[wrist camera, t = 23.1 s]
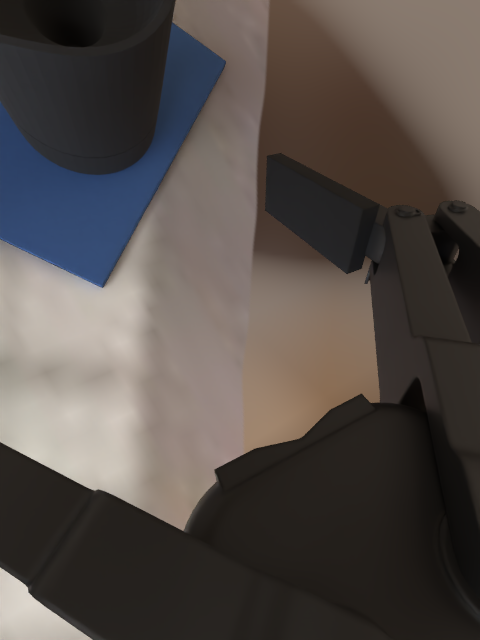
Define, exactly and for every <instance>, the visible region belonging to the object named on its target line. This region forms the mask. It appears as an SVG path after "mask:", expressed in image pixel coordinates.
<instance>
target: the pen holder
mask: <svg viewBox="0 0 480 640" xmlns="http://www.w3.org/2000/svg"><path fill="white" fill-rule="evenodd" d="M174 6H175V0H0V102H1V103H2V105H3V106H4V108H5V109H6V111H7V112H8V114H9V115H10V117H11V118H12V120H13V122H14V123H15V125H16V126H17V128H18V129H19V131H20V132H21V133H22V135H23V136H24V137H25V139H26V140H27V141H28V142H29V143H30V145H31V146H32V147H33V148H34V149H35V150H36V151H38V152H39V153H40V154H41V155H42V156H44V157H45V158H47V159H48V160H49V161H51V162H53V163H55V164H57V165H58V166H60V167H63V168H65V169H68V170H70V171H74V172H78V173H83V174H89V175H104V174H111V173H116V172H119V171H122V170H124V169H126V168H128V167H130V166H132V165H133V164H135V163H136V162H138V161H139V160H140V159H141V158H142V157H143V156H144V154H145V153H146V152H147V150H148V148H149V147H150V145H151V143H152V140H153V137H154V133H155V128H156V123H157V117H158V111H159V106H160V100H161V93H162V86H163V79H164V73H165V66H166V59H167V53H168V46H169V39H170V32H171V26H172V19H173V12H174Z"/></svg>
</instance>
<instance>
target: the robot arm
mask: <svg viewBox="0 0 480 640" xmlns="http://www.w3.org/2000/svg"><path fill="white" fill-rule="evenodd" d="M265 211H267V212H268V213H269V214H271V215H272V216H273V217H274V218H276V219H277V220H278V221H280V222H281V223H282V224H283V225H285V226H286V227H287V228H289V229H290V230H291V231H292V232H294V233H295V234H296V235H297V236H299V237H300V238H301V239H303V240H304V241H305V242H306V243H308V244H309V245H310V246H312V247H313V248H314V249H315V250H317V251H318V252H319V253H321V254H322V255H323V256H324V257H326V258H327V259H328V260H330V261H331V262H332V263H333V264H335V265H336V266H337V267H338V268H340V269H341V270H342V271H344V272H345V273H346V274H348V273H351V272H354V271H356V270H359V269H361V268H362V265H363V261H364V258H365V256H367V257H368V258H370V259H371V260H372V261H371V265H370V268H369V271H368V274H367V277H366V280H365V284H367V283H368V281H369V280H370V283H371V295H372V307H373V319H374V330H375V341H376V354H377V366H378V377H379V388H380V403H370V402H369V401H368V400H367V399H366V398H365V397H364V396H363V395H362V394H360V395H358V396H356V397H354V398H352V399H350V400H348V401H346V402H344V403H343V404H341V405H339V406H337V407H335V408H333V409H331V410H330V411H329V412H328V413H326V415H324V416H323V417H322V418H321V419H320V420H319V421H318V422H317V423H316V424H315V425H314V426H313V427H312V428H311V429H310V430H309V431H308V432H307V433H306V434H305V435H304V436H303V437H302V438H300V439H297V440H293V441H288V442H283V443H279V444H274V445H270V446H265V447H261V448H256V449H254V450H252V451H250V452H248V453H246V454H244V455H242V456H240V457H238V458H236V459H234V460H232V461H230V462H228V463H226V464H224V465H223V466H221V467H219V468H217V469H215V476H216V481H217V482H216V483H215V484H214V485H213V486H212V487H211V488H210V489H209V490H208V491H207V492H206V493H205V494H204V496H203V497H202V498H201V499H200V501H199V502H198V504H197V505H196V507H195V508H194V510H193V512H192V514H191V516H190V518H189V520H188V522H187V524H186V526H185V529H184V531H182V530H180V529H178V528H176V527H174V526H172V525H170V524H168V523H166V522H164V521H162V520H160V519H158V518H156V517H155V516H153V515H151V514H149V513H147V512H145V511H143V510H141V509H139V508H137V507H135V506H133V505H131V504H129V503H127V502H125V501H124V500H122V499H120V498H118V497H116V496H114V495H111V494H109V493H107V492H105V491H102V490H96V491H94V490H91V489H89V488H87V487H85V486H83V485H81V484H79V483H77V482H75V481H73V480H71V479H69V478H67V477H65V476H63V475H62V474H60V473H58V472H56V471H54V470H52V469H50V468H48V467H46V466H44V465H42V464H41V463H39V462H37V461H35V460H33V459H31V458H29V457H27V456H25V455H23V454H21V453H19V452H18V451H16V450H14V449H12V448H10V447H8V446H6V445H4V444H2V443H0V567H1V568H2V569H4V570H5V571H7V572H8V573H10V574H11V575H12V576H14V577H15V578H17V579H18V580H20V581H21V582H22V583H24V584H25V585H26V586H27V587H28V592H29V593H30V594H31V595H32V596H33V597H34V598H35V599H36V600H37V601H39V602H40V603H41V604H43V605H44V606H45V607H47V608H48V609H50V610H51V611H52V612H54V613H55V614H57V615H58V616H60V617H61V618H63V619H64V620H65V621H67V622H68V623H70V624H71V625H73V626H74V627H75V628H77V629H78V630H80V631H81V632H83V633H84V634H86V635H87V636H88V637H90V638H91V639H93V640H480V211H478V210H477V209H476V208H475V207H473V206H471V205H469V204H466V203H465V202H463V201H457V200H456V201H445V202H442V203H440V205H439V207H438V209H437V212H436V214H435V215H424V213H423V212H422V211H421V210H419V209H417V208H414V207H411V206H406V205H396V206H391V207H389V208H388V209H387V208H385V207H383V206H382V205H380V204H377V203H376V202H374V201H372V200H370V199H368V198H366V197H364V196H362V195H360V194H358V193H357V192H355V191H353V190H351V189H348V188H347V187H345V186H343V185H341V184H339V183H337V182H335V181H333V180H331V179H329V178H327V177H325V176H324V175H322V174H320V173H318V172H316V171H314V170H312V169H310V168H308V167H306V166H304V165H302V164H301V163H299V162H297V161H295V160H293V159H291V158H289V157H287V156H285V155H283V154H281V153H279V154H274V155H269V156H267V176H266V203H265ZM458 249H459V255H458V258H457V260H456V261H455V260H454V257H455V255H456V253H457V251H458Z"/></svg>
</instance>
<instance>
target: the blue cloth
mask: <svg viewBox="0 0 480 640" xmlns="http://www.w3.org/2000/svg"><path fill="white" fill-rule="evenodd" d="M225 64H226V61H225V60H223V59H222V58H221V57H219V56H218V55H216V54H215V53H214V52H212V51H211V50H210V49H208V48H207V47H205V46H204V45H203V44H201V43H200V42H199V41H197V40H196V39H194V38H193V37H192V36H190V35H189V34H188V33H186V32H185V31H183V30H182V29H181V28H179V27H178V26H176V25H175V24H174V23H172V26H171V32H170V39H169V46H168V53H167V59H166V66H165V73H164V79H163V86H162V93H161V100H160V106H159V111H158V117H157V123H156V128H155V133H154V137H153V140H152V143H151V145H150V147H149V148H148V150H147V152H146V153H145V154H144V156H143V157H142V158H141V159H140V160H139V161H138V162H136V163H135V164H133V165H132V166H130V167H128V168H126V169H124V170H122V171H119V172H116V173H111V174H104V175H89V174H83V173H78V172H74V171H70V170H68V169H65V168H63V167H60V166H58V165H57V164H55V163H53V162H51V161H49V160H48V159H47V158H45V157H44V156H42V155H41V154H40V153H39V152H38V151H36V150H35V149H34V148H33V147H32V146H31V145H30V143H29V142H28V141H27V140H26V139H25V137H24V136H23V135H22V133H21V132H20V131H19V129H18V128H17V126H16V125H15V123H14V122H13V120H12V118H11V117H10V115H9V114H8V112H7V111H6V109H5V108H4V106H3V105H2V103H1V102H0V239H1V240H3V241H5V242H7V243H9V244H11V245H14V246H16V247H18V248H20V249H22V250H24V251H26V252H28V253H30V254H32V255H35V256H37V257H39V258H41V259H43V260H45V261H47V262H49V263H51V264H53V265H55V266H58V267H60V268H62V269H64V270H66V271H68V272H70V273H72V274H74V275H76V276H79V277H81V278H83V279H85V280H87V281H89V282H91V283H93V284H95V285H97V286H100V287H102V288H103V287H104V285H105V283H106V281H107V280H108V278H109V276H110V274H111V272H112V271H113V269H114V267H115V265H116V263H117V261H118V260H119V258H120V256H121V254H122V252H123V251H124V249H125V247H126V245H127V243H128V241H129V240H130V238H131V236H132V234H133V232H134V231H135V229H136V227H137V225H138V223H139V221H140V220H141V218H142V216H143V214H144V212H145V211H146V209H147V207H148V205H149V203H150V201H151V200H152V198H153V196H154V194H155V192H156V191H157V189H158V187H159V185H160V183H161V181H162V180H163V178H164V176H165V174H166V172H167V171H168V169H169V167H170V165H171V163H172V162H173V160H174V158H175V156H176V154H177V152H178V151H179V149H180V147H181V145H182V143H183V142H184V140H185V138H186V136H187V134H188V132H189V131H190V129H191V127H192V125H193V123H194V122H195V120H196V118H197V116H198V114H199V112H200V111H201V109H202V107H203V105H204V103H205V102H206V100H207V98H208V96H209V94H210V92H211V91H212V89H213V87H214V85H215V83H216V82H217V80H218V78H219V76H220V74H221V72H222V71H223V69H224V67H225Z"/></svg>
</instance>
